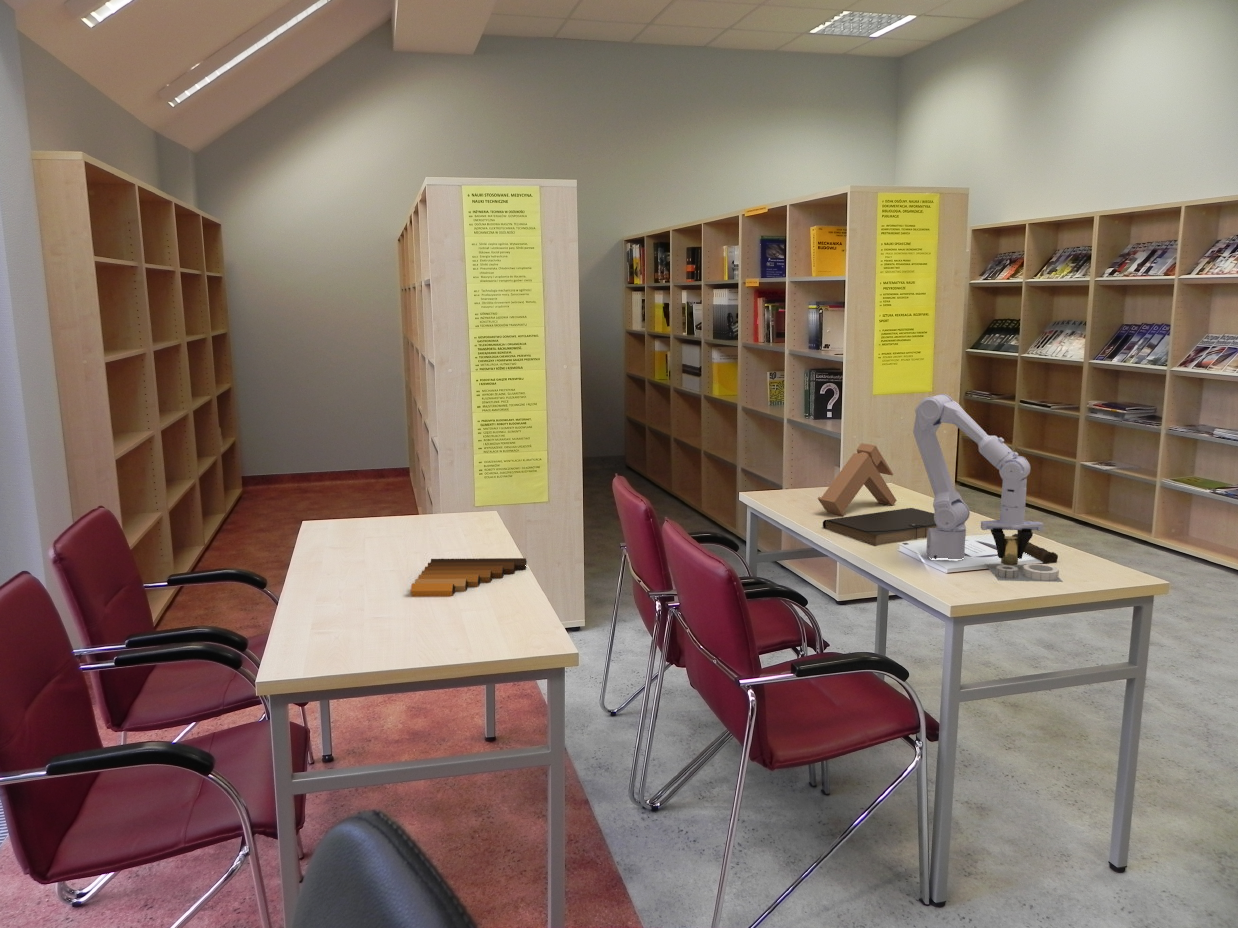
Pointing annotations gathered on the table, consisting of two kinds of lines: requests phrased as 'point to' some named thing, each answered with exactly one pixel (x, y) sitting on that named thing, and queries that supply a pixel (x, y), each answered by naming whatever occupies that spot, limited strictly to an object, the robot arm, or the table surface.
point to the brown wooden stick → (1039, 553)
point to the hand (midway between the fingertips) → (1009, 557)
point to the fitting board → (1025, 572)
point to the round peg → (1010, 550)
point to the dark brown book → (884, 526)
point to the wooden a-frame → (858, 481)
